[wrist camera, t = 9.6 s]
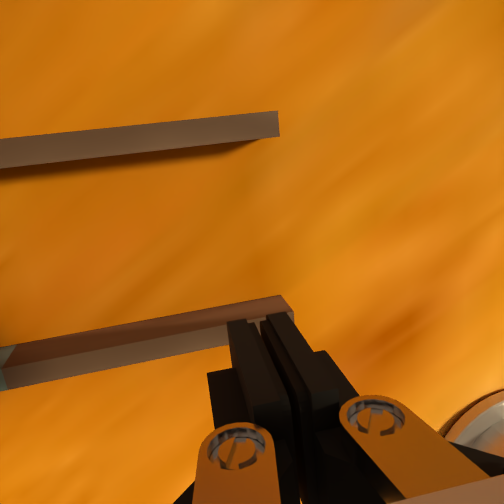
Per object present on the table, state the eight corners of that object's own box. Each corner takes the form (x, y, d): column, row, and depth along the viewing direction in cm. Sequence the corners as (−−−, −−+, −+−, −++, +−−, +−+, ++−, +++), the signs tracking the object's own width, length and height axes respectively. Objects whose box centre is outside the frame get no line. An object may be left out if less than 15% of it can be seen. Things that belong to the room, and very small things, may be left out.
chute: (282, 312, 26) (297, 334, 23) (-240, 414, 21) (-301, 459, 18) (264, 112, 22) (280, 110, 19) (-368, 178, 17) (-469, 186, 14)
